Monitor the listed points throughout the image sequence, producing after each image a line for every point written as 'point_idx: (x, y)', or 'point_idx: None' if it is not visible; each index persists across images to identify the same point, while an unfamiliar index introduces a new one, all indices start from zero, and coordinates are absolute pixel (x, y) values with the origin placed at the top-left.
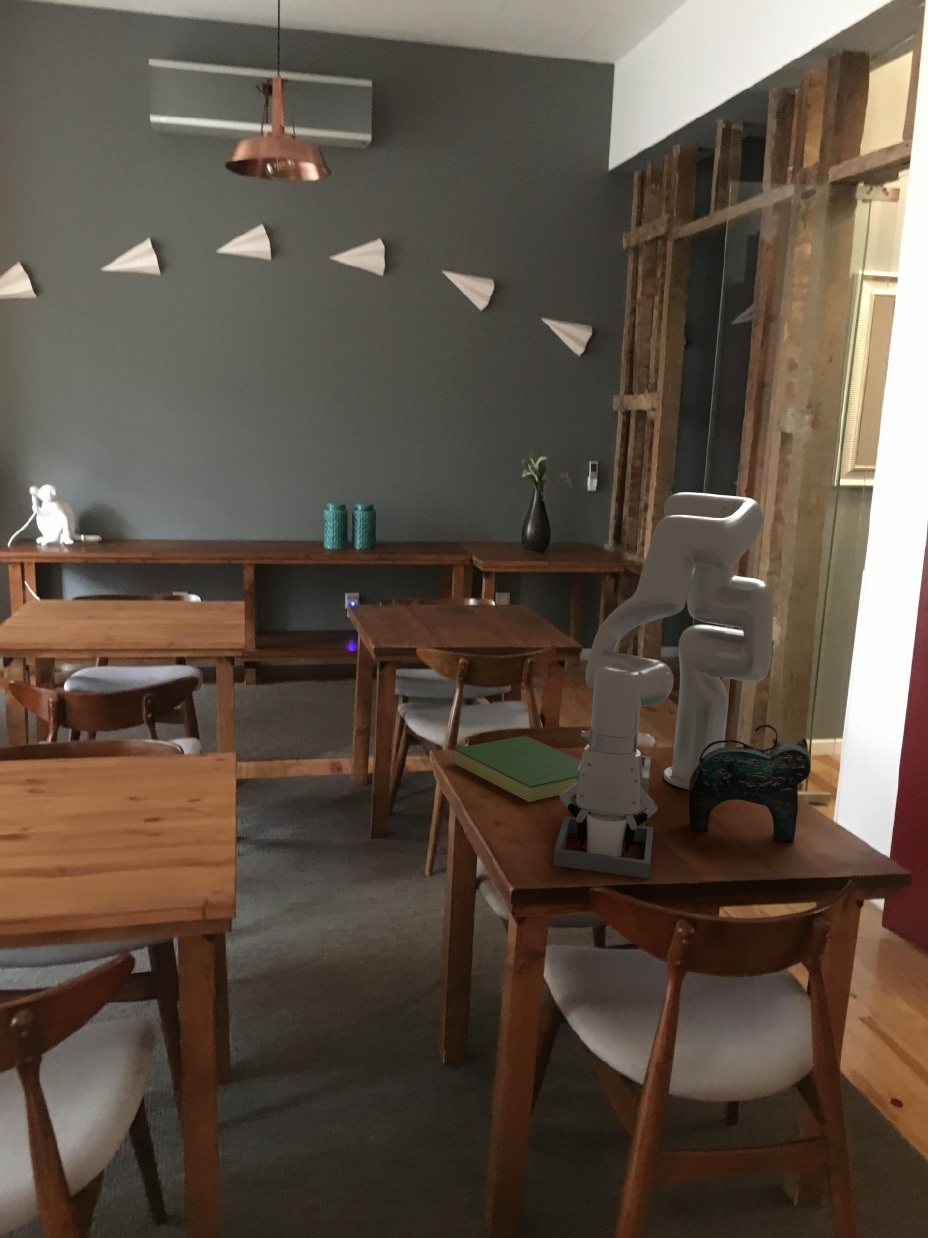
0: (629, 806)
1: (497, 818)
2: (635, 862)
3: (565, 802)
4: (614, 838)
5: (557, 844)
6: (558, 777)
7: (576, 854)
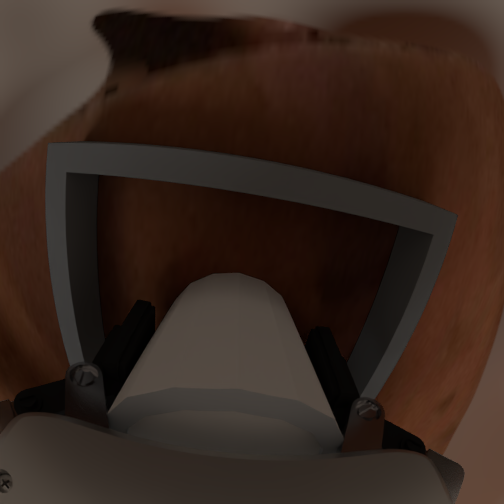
0: (38, 467)
1: (438, 416)
2: (100, 144)
3: (437, 461)
4: (185, 322)
5: (433, 277)
6: None
7: (383, 191)
